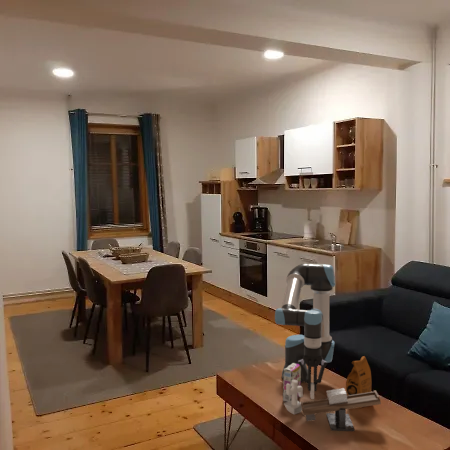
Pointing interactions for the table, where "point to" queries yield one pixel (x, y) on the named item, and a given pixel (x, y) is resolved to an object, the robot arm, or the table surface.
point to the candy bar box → (291, 374)
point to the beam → (353, 402)
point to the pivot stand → (340, 421)
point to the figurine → (294, 397)
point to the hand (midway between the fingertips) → (312, 397)
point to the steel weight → (337, 396)
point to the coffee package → (359, 378)
